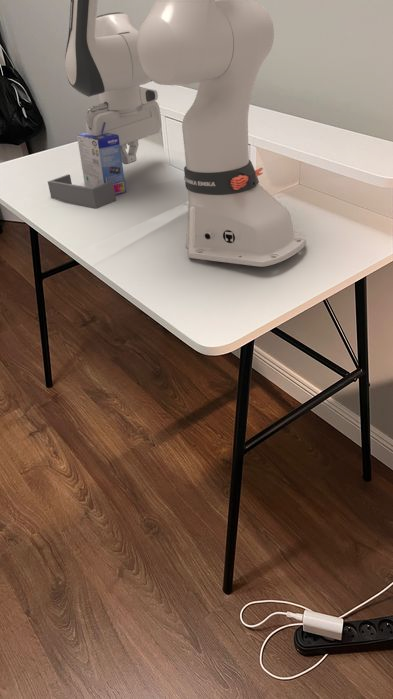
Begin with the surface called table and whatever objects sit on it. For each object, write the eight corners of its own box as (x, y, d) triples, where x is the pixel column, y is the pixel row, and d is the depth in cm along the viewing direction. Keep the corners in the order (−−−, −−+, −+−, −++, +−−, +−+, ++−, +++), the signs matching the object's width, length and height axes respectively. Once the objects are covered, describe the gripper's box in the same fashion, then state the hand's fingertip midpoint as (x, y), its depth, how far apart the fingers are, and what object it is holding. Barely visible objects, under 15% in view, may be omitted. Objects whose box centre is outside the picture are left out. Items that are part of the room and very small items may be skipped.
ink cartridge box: (128, 191, 136) (118, 122, 128) (106, 198, 133) (94, 128, 126) (106, 184, 143) (95, 118, 135) (85, 190, 140) (72, 123, 133)
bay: (115, 200, 131) (112, 181, 129) (95, 208, 127) (92, 189, 125) (71, 192, 140) (67, 174, 137) (51, 199, 136) (47, 181, 134)
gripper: (95, 108, 126) (106, 177, 133) (162, 89, 139) (169, 152, 146) (74, 107, 129) (86, 173, 137) (142, 88, 142) (149, 150, 150)
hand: (129, 162), depth 141 cm, fingers closed
